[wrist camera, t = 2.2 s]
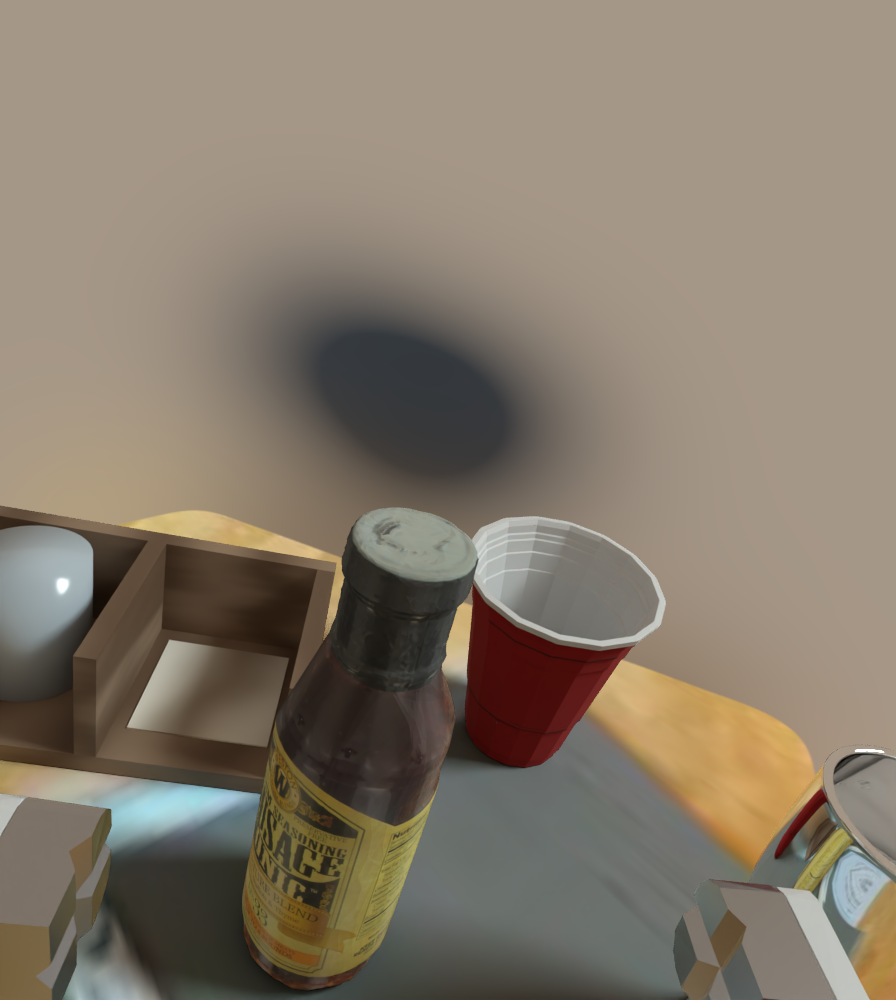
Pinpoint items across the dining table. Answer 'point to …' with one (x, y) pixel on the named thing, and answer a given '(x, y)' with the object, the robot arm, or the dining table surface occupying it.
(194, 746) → the walnut rail
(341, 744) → the sauce bottle
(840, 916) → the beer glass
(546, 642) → the plastic cup
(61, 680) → the grey rounded cylinder
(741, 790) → the dining table surface
